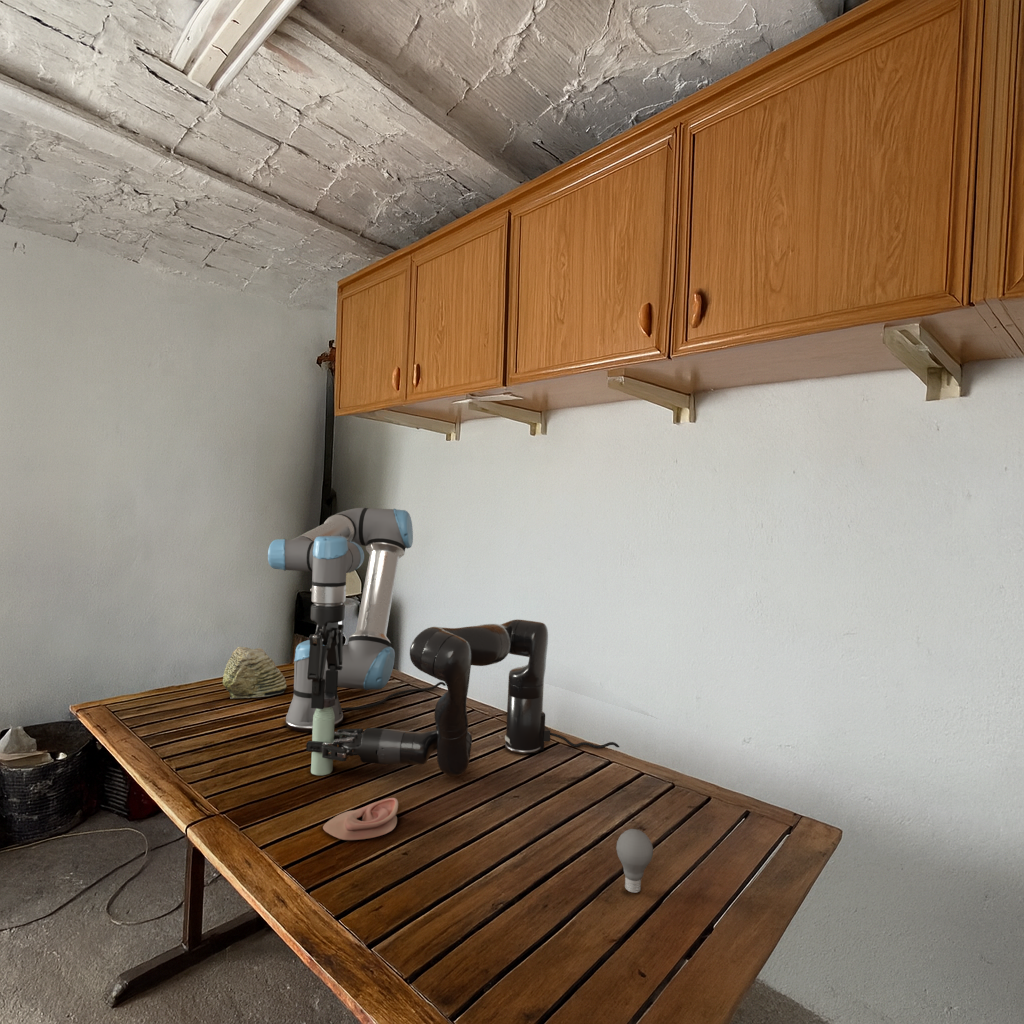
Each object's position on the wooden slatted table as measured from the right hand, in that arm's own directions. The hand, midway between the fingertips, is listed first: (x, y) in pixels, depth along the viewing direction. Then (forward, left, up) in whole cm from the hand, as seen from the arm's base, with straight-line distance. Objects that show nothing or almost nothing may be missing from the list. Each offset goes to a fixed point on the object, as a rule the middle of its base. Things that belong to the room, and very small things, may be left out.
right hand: (311, 741), depth 146 cm
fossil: (+12, -61, -7) cm, 62 cm away
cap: (-2, +1, +10) cm, 11 cm away
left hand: (-2, +1, +9) cm, 10 cm away
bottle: (-2, +1, -7) cm, 7 cm away
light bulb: (-47, +63, -7) cm, 78 cm away
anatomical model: (-7, +29, -7) cm, 30 cm away
